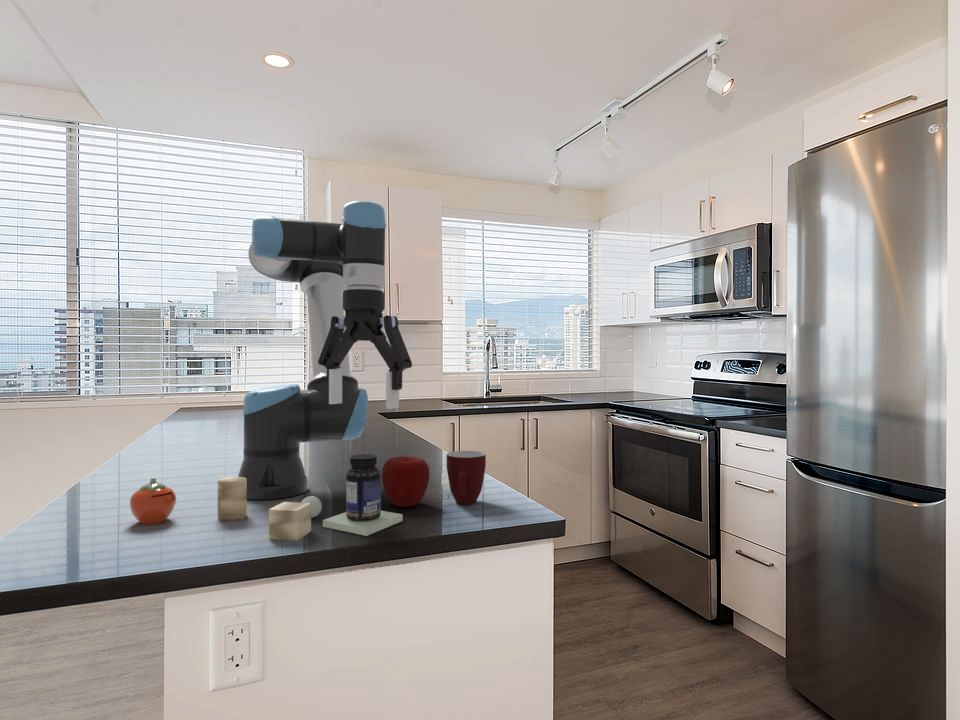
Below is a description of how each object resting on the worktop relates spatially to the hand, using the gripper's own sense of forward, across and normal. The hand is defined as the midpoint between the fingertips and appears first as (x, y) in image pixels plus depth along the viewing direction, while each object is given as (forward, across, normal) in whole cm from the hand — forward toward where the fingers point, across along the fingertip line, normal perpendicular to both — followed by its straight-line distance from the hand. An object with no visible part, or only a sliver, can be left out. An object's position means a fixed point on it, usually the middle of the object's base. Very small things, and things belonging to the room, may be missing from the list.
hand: (363, 406), depth 106 cm
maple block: (+21, -5, -13) cm, 25 cm away
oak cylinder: (+21, -22, -11) cm, 33 cm away
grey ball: (+21, -9, -4) cm, 23 cm away
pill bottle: (+20, +2, -2) cm, 20 cm away
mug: (+21, +10, +19) cm, 31 cm away
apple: (+21, 0, +12) cm, 25 cm away
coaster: (+21, +2, -2) cm, 21 cm away
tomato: (+22, -32, -20) cm, 44 cm away
